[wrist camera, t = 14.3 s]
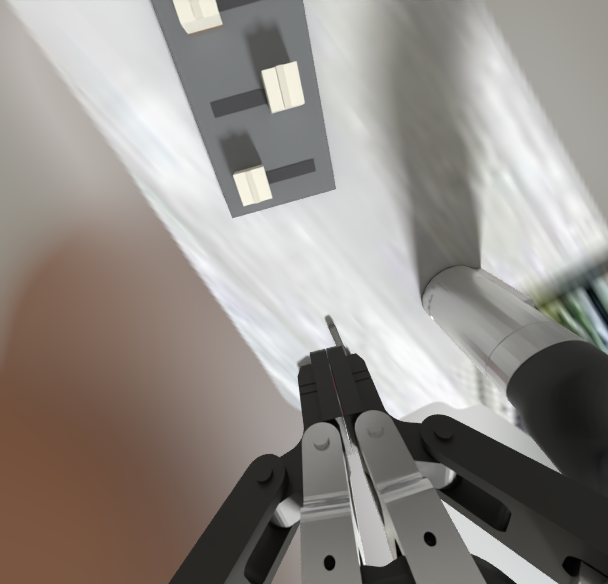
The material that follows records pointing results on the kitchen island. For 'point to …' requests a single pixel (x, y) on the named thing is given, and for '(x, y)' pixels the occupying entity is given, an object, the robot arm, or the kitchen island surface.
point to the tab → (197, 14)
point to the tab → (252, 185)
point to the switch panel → (253, 97)
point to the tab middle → (283, 87)
